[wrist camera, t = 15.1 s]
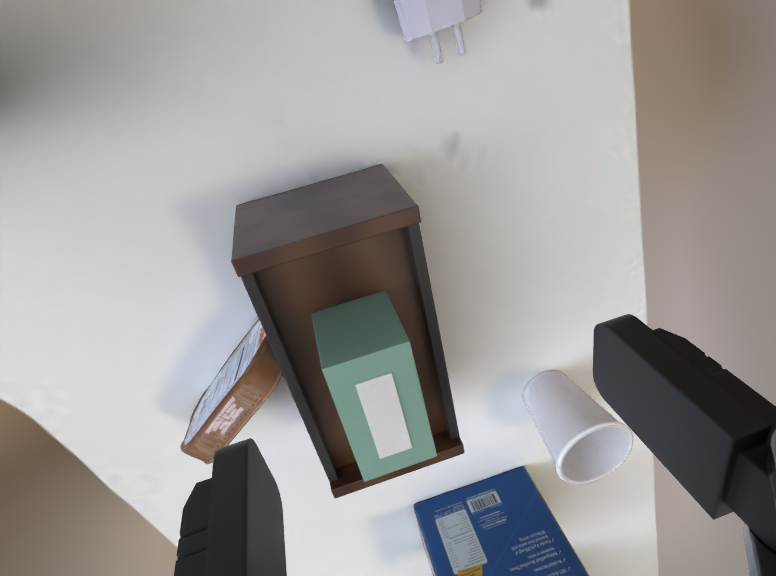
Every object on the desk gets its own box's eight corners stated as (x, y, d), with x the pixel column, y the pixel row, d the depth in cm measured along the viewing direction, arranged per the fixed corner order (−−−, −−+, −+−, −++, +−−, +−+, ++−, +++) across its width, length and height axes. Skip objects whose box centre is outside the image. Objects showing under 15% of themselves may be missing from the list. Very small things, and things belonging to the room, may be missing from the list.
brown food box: (216, 414, 48) (202, 487, 41) (186, 402, 47) (166, 475, 40) (302, 306, 43) (302, 367, 36) (271, 289, 42) (265, 349, 35)
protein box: (528, 511, 68) (594, 631, 55) (424, 549, 66) (466, 682, 53) (525, 463, 62) (597, 583, 49) (411, 503, 61) (455, 638, 48)
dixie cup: (591, 376, 57) (650, 439, 49) (544, 425, 60) (592, 493, 51) (546, 350, 53) (601, 413, 45) (497, 403, 56) (541, 473, 47)
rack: (321, 417, 50) (334, 498, 42) (235, 205, 38) (230, 261, 29) (430, 380, 52) (464, 453, 43) (382, 163, 39) (418, 205, 30)
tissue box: (349, 418, 41) (364, 483, 35) (310, 313, 35) (322, 370, 29) (412, 397, 41) (437, 457, 35) (385, 289, 35) (410, 341, 30)
